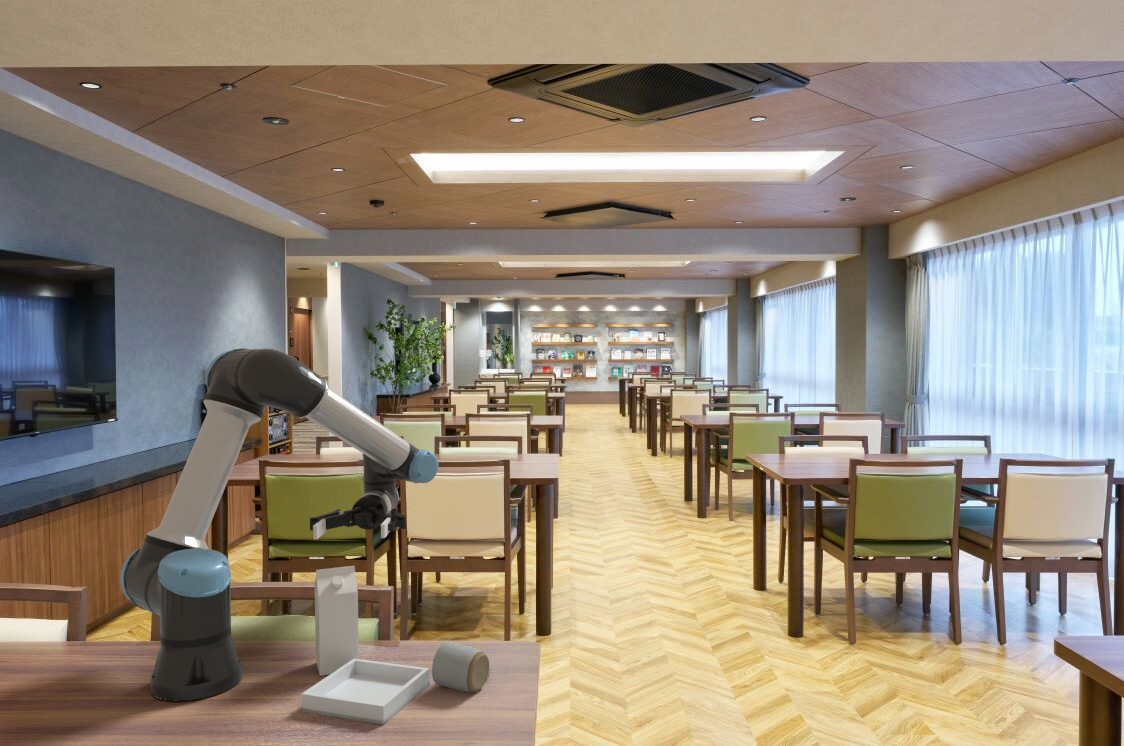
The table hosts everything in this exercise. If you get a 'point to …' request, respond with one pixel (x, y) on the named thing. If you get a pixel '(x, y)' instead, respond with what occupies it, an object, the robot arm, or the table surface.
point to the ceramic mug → (460, 667)
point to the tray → (366, 691)
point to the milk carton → (336, 618)
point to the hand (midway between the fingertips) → (348, 532)
